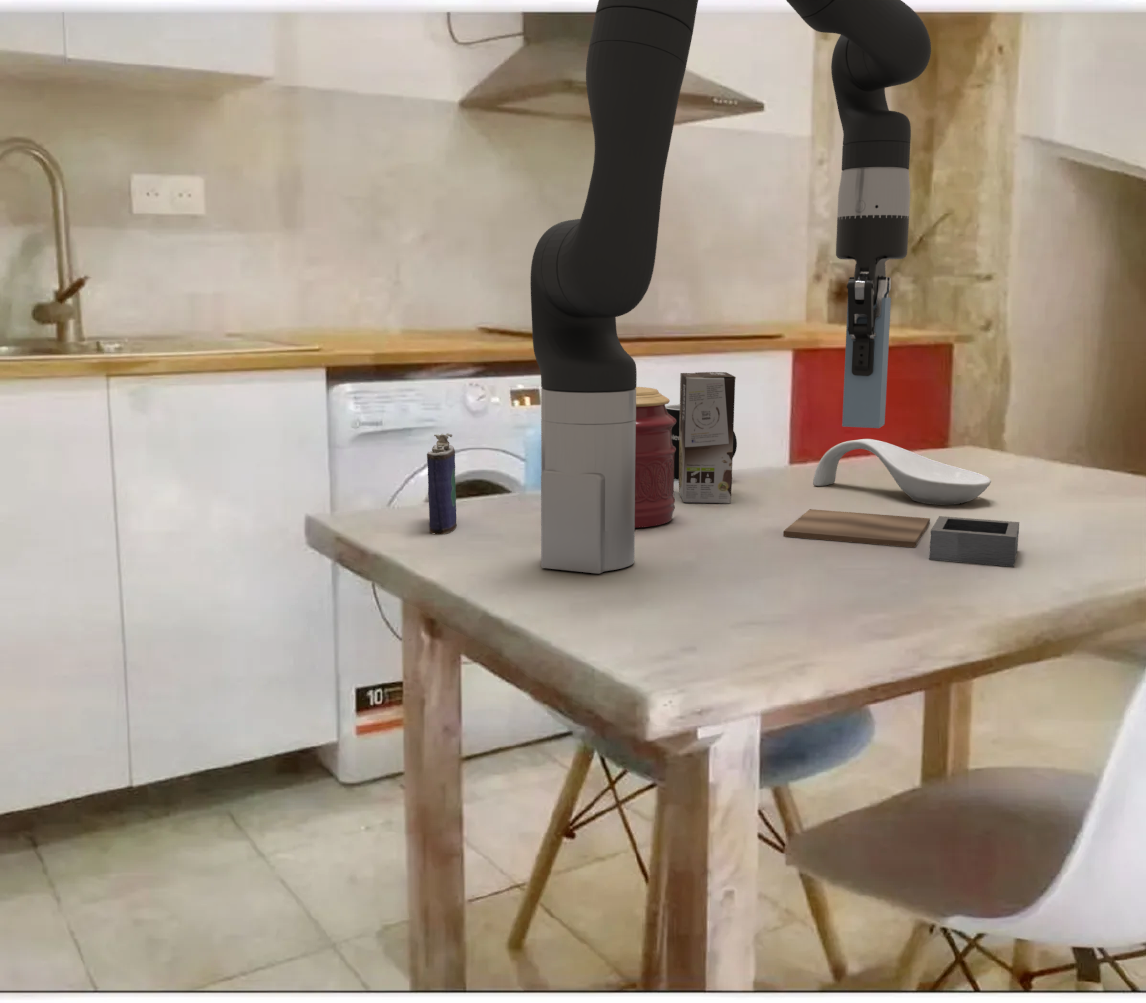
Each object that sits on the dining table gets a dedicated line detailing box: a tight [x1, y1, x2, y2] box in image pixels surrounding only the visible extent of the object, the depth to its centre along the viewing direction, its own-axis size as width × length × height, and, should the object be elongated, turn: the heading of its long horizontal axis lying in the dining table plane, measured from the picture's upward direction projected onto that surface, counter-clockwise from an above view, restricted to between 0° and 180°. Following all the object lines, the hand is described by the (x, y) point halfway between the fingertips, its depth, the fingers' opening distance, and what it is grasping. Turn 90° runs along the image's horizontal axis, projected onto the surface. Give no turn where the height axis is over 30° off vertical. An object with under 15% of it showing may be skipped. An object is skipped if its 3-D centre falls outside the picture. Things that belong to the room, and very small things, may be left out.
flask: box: [426, 432, 458, 535], centre depth 132 cm, size 9×3×11 cm, turn 1°
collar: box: [928, 515, 1020, 568], centre depth 119 cm, size 8×8×3 cm
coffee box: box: [678, 371, 737, 504], centre depth 150 cm, size 9×6×16 cm
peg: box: [841, 297, 892, 429], centre depth 128 cm, size 4×4×14 cm
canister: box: [635, 386, 676, 529], centre depth 135 cm, size 13×13×18 cm
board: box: [782, 508, 931, 549], centre depth 131 cm, size 14×14×1 cm
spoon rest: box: [812, 438, 992, 506], centre depth 153 cm, size 24×12×7 cm, turn 47°
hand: (865, 373), depth 128 cm, fingers closed on peg, 4 cm apart
